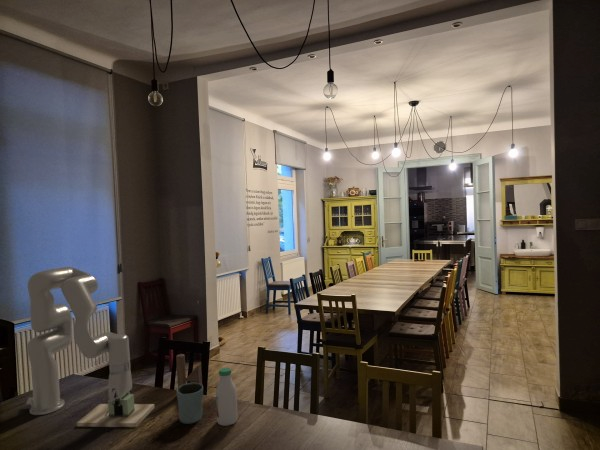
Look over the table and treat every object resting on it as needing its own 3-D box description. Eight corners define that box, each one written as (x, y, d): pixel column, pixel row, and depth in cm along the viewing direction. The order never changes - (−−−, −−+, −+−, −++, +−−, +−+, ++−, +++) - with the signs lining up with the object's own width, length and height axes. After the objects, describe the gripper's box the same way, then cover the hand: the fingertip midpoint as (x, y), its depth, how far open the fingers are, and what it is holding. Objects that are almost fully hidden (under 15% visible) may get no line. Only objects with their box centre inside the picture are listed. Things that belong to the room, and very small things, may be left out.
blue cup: (185, 410, 164) (184, 381, 164) (209, 412, 162) (207, 382, 162) (173, 424, 154) (171, 393, 154) (197, 425, 152) (196, 394, 152)
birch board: (76, 426, 155) (76, 422, 155) (99, 407, 170) (99, 403, 170) (136, 427, 153) (136, 423, 153) (154, 407, 168) (154, 404, 168)
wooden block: (199, 398, 175) (197, 357, 174) (176, 397, 177) (174, 356, 176) (203, 394, 179) (201, 354, 178) (180, 393, 180) (178, 353, 180)
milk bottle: (241, 417, 156) (239, 367, 156) (230, 428, 149) (227, 374, 149) (225, 414, 160) (222, 364, 159) (213, 424, 153) (210, 372, 152)
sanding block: (108, 416, 159) (107, 400, 159) (115, 410, 164) (114, 394, 164) (128, 416, 158) (127, 400, 158) (134, 410, 163) (133, 394, 163)
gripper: (122, 358, 169) (125, 401, 170) (98, 375, 152) (101, 422, 153) (139, 358, 168) (142, 401, 169) (117, 375, 151) (120, 423, 152)
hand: (122, 411), depth 161 cm, fingers closed on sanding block, 5 cm apart
